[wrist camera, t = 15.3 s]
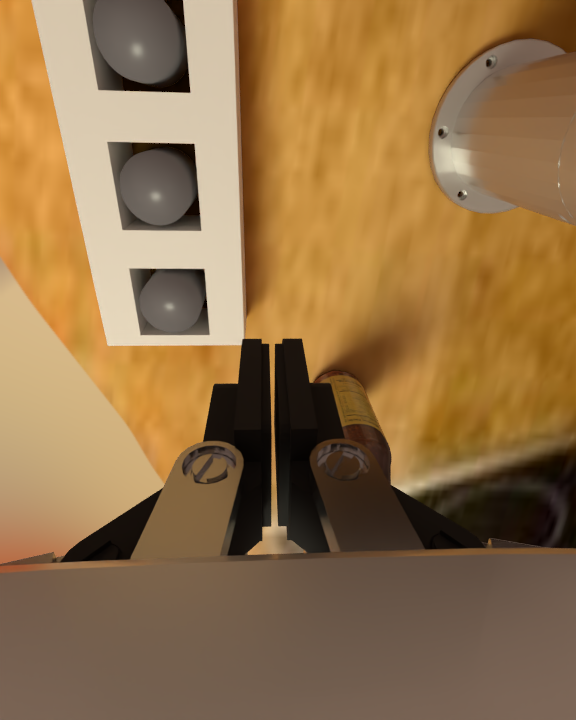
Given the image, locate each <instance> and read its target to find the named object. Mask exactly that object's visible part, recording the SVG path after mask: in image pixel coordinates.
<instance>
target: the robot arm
mask: <svg viewBox="0 0 576 720" xmlns="http://www.w3.org/2000/svg"><path fill="white" fill-rule="evenodd" d="M487 60H488V61H489V65H488V67H486V61H487ZM439 129H441V130H442V134H441V135H440V136H439V135H438V131H439ZM429 159H430V167H431V170H432V173H433V176H434V179H435V181H436V182H437V184H438V186H439V188H440V189H441V191H442V192H443V193H444V194H445V195H446V196H447V197H448V198H449V199H450V200H451V201H453V202H454V203H456V204H457V205H459V206H460V207H463V208H465V209H467V210H470V211H474V212H478V213H499V212H505V211H509V210H512V209H514V208H517V207H522V208H525V209H528V210H531V211H533V212H536V213H539V214H542V215H545V216H548V217H551V218H554V219H557V220H560V221H563V222H566V223H569V224H572V225H575V226H576V51H575V52H571V53H566V52H565V51H564V50H563V49H562V48H560V47H559V46H557V45H554V44H552V43H550V42H548V41H544V40H538V39H520V40H514V41H510V42H507V43H503V44H501V45H498V46H496V47H494V48H491V49H489V50H487V51H486V52H484V53H483V54H481V55H480V56H478V57H477V58H475V59H474V60H472V61H471V62H470V63H469V64H468V65H467V66H466V67H465V68H464V69H463V70H462V71H460V72H459V74H458V75H457V76H456V77H455V79H454V80H453V81H452V83H451V84H450V85H449V87H448V88H447V90H446V92H445V93H444V95H443V97H442V99H441V101H440V102H439V105H438V107H437V110H436V112H435V115H434V118H433V121H432V126H431V131H430V135H429ZM460 191H461V194H460V196H458V193H459V192H460ZM274 428H275V456H276V482H277V509H278V526H287V540H292V541H294V542H295V543H296V544H297V545H299V546H300V547H301V548H302V549H304V551H303V553H296V554H266V555H247V552H248V551H249V550H250V549H252V548H253V547H254V546H255V545H256V544H257V543H258V542H259V541H262V527H268V526H271V394H270V359H269V344H262V340H261V339H242V348H241V358H240V369H239V380H238V384H214V386H213V391H212V397H211V402H210V407H209V413H208V418H207V424H206V429H205V434H204V440H203V442H202V443H197V444H195V445H193V446H191V447H189V448H187V449H186V450H185V451H184V452H182V453H181V454H180V456H179V457H178V459H177V460H176V462H175V464H174V466H173V468H172V470H171V472H170V475H169V477H168V479H167V481H166V483H165V485H164V487H163V488H162V489H161V490H159V491H157V492H156V493H154V494H153V495H151V496H150V497H149V498H147V499H145V500H144V501H142V502H140V503H139V504H137V505H136V506H135V507H133V508H131V509H130V510H128V511H127V512H125V513H123V514H122V515H120V516H119V517H117V518H116V519H114V520H113V521H111V522H110V523H108V524H107V525H105V526H103V527H102V528H100V529H99V530H97V531H96V532H94V533H93V534H91V535H89V536H88V537H86V538H85V539H83V540H82V541H80V542H79V543H78V544H76V545H75V546H74V547H73V548H71V549H70V550H69V551H68V552H67V554H66V555H65V556H61V557H57V558H56V556H55V554H54V552H52V553H48V554H43V555H39V556H34V557H30V558H26V559H21V560H17V561H12V562H8V563H3V564H0V720H576V549H568V548H545V547H539V546H533V545H527V544H521V543H515V542H509V541H504V540H498V539H492V538H490V539H489V542H488V544H487V543H482V542H481V541H480V540H479V539H478V538H477V537H476V536H474V535H473V534H472V533H470V532H469V531H468V530H466V529H465V528H463V527H461V526H460V525H458V524H456V523H454V522H453V521H451V520H449V519H448V518H446V517H444V516H443V515H441V514H439V513H437V512H436V511H434V510H432V509H431V508H429V507H427V506H426V505H424V504H422V503H421V502H419V501H417V500H415V499H414V498H412V497H410V496H409V495H407V494H405V493H404V492H402V491H400V490H398V489H397V488H395V487H393V486H392V485H390V484H389V482H388V480H387V478H386V476H385V475H384V473H383V471H382V469H381V467H380V465H379V464H378V462H377V460H376V458H375V456H374V455H373V454H372V453H371V451H370V450H369V449H367V448H366V447H365V446H363V445H362V444H360V443H357V442H355V441H352V440H347V439H345V436H344V432H343V428H342V424H341V421H340V417H339V413H338V409H337V405H336V401H335V397H334V393H333V390H332V386H331V383H310V382H309V376H308V371H307V365H306V359H305V354H304V348H303V343H302V339H283V340H282V344H275V410H274Z"/></svg>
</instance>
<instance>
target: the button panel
mask: <svg viewBox="0 0 576 720" xmlns="http://www.w3.org/2000/svg"><path fill="white" fill-rule="evenodd" d="M96 1H97V0H32V5H33V9H34V14H35V18H36V23H37V27H38V32H39V36H40V41H41V45H42V50H43V54H44V59H45V63H46V68H47V73H48V77H49V82H50V86H51V91H52V95H53V100H54V104H55V109H56V113H57V118H58V122H59V127H60V132H61V136H62V141H63V145H64V150H65V154H66V159H67V163H68V168H69V172H70V177H71V181H72V186H73V190H74V195H75V200H76V204H77V209H78V213H79V218H80V222H81V227H82V231H83V236H84V240H85V245H86V249H87V254H88V259H89V263H90V268H91V272H92V277H93V281H94V286H95V290H96V295H97V299H98V304H99V308H100V313H101V317H102V322H103V327H104V331H105V336H106V340H107V345H108V346H135V345H242V339H245V330H246V318H247V316H246V282H245V248H244V214H243V180H242V146H241V113H240V79H239V45H238V11H237V0H183V5H184V18H185V30H186V43H187V55H188V68H189V80H190V93H175V92H141V91H124V88H123V82H122V75H120V74H119V73H117V72H116V71H115V70H114V69H113V68H112V67H111V66H110V65H109V64H108V63H107V61H106V60H105V59H104V57H103V55H102V54H101V52H100V50H99V48H98V45H97V42H96V39H95V35H94V30H93V12H94V7H95V4H96ZM131 142H140V143H184V144H195V156H196V168H197V181H198V193H199V206H200V215H183V216H182V217H181V218H180V219H178V220H177V221H175V222H173V223H171V224H167V225H153V224H149V223H146V222H144V221H142V220H141V219H139V218H138V217H136V216H135V215H134V214H133V213H132V212H131V211H130V210H129V208H128V207H127V206H126V204H125V202H124V200H123V198H122V195H121V191H120V175H121V171H122V169H123V167H124V165H125V163H126V162H127V161H128V160H129V159H130V158H131V157H132V156H133V150H132V143H131ZM150 269H205V281H206V294H207V306H208V308H202V309H201V312H200V315H199V318H198V320H197V321H196V323H195V324H194V325H193V326H192V327H190V328H189V329H187V330H185V331H182V332H176V333H171V332H165V331H162V330H159V329H157V328H155V327H154V326H152V325H151V324H150V323H149V322H148V321H147V320H146V319H145V317H144V316H143V314H142V312H141V309H140V305H139V298H140V294H141V291H142V289H143V288H144V286H145V285H146V283H147V282H148V281H149V279H150V278H151V272H150Z"/></svg>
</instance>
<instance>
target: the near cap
mask: <svg viewBox="0 0 576 720" xmlns="http://www.w3.org/2000/svg"><path fill="white" fill-rule="evenodd" d="M93 30H94V35H95V39H96V42H97V45H98V48H99V50H100V52H101V54H102V55H103V57H104V59H105V60H106V61H107V63H108V64H109V65H110V66H111V67H112V68H113V69H114V70H115V71H116V72H117V73H119V74H120V75H122V76H123V77H125V78H127V79H130V80H133V81H136V82H139V83H143V84H146V85H149V86H153V87H159V88H162V87H168V86H171V85H173V84H175V83H176V82H178V81H179V80H180V79H181V78H182V77H183V75H184V74H185V72H186V70H187V67H188V55H187V43H186V30H185V28H184V26H183V24H182V23H181V21H180V20H179V18H178V17H177V16H176V15H175V13H174V12H173V11H172V10H171V9H170V7H169V6H168V5H167V4H166V3H165V1H164V0H97V1H96V4H95V7H94V12H93Z"/></svg>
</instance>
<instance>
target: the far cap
mask: <svg viewBox="0 0 576 720" xmlns="http://www.w3.org/2000/svg"><path fill="white" fill-rule="evenodd" d="M205 297H206V281H205V272H204V270H203V269H156V271H155V272H154V274H153V275H152V276H151V278H150V279H149V281H148V282H147V283H146V285H145V286H144V288H143V289H142V291H141V294H140V298H139V305H140V309H141V312H142V314H143V316H144V317H145V319H146V320H147V321H148V322H149V323H150V324H151V325H152V326H154V327H155V328H157V329H159V330H162V331H165V332H171V333H176V332H182V331H185V330H187V329H189V328H190V327H192V326H193V325H194V324H195V323H196V321H197V320H198V318H199V315H200V312H201V309H202V306H203V303H204V300H205Z"/></svg>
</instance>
